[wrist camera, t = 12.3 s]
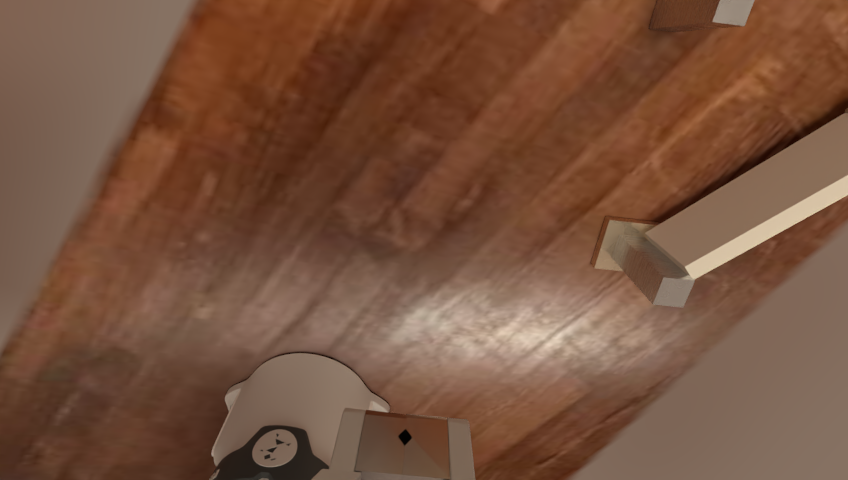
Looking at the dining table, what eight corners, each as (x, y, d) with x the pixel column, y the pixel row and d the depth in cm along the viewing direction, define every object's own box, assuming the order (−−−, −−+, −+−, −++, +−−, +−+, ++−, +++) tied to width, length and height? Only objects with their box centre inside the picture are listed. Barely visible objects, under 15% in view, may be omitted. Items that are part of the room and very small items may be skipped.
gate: (653, 246, 38) (694, 282, 32) (643, 231, 38) (683, 264, 32) (877, 114, 33) (975, 128, 27) (871, 93, 33) (969, 103, 27)
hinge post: (640, 268, 41) (693, 323, 33) (590, 263, 41) (630, 316, 32) (657, 221, 39) (718, 267, 31) (605, 215, 39) (652, 260, 30)
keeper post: (673, 32, 32) (744, 26, 25) (648, 28, 32) (712, 21, 25) (688, -13, 31) (767, -33, 24) (661, -16, 31) (733, -37, 24)
